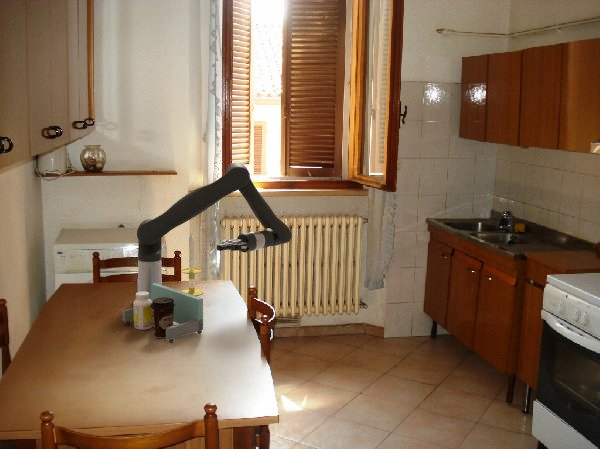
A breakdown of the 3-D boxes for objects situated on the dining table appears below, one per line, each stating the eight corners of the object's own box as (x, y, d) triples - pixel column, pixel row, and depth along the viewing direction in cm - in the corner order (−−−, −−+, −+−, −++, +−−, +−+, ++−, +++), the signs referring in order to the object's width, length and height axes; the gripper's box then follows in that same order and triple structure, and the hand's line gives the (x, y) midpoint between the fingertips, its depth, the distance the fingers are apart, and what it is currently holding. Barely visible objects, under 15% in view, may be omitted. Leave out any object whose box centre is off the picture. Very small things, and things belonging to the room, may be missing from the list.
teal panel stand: (122, 324, 250) (121, 290, 247) (156, 315, 261) (155, 282, 258) (168, 344, 231) (168, 307, 229) (203, 333, 242) (202, 298, 240)
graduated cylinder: (194, 288, 298) (194, 227, 293) (208, 293, 291) (208, 231, 286) (175, 292, 292) (174, 230, 287) (188, 297, 284) (187, 234, 279)
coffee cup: (180, 334, 242) (180, 298, 239) (166, 341, 234) (166, 304, 232) (160, 329, 245) (159, 295, 243) (146, 337, 238) (145, 301, 236)
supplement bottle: (155, 324, 251) (154, 291, 248) (149, 330, 244) (148, 296, 242) (137, 323, 251) (136, 290, 249) (131, 329, 245) (130, 295, 242)
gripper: (239, 229, 277) (206, 235, 264) (262, 234, 268) (229, 241, 255) (239, 248, 278) (206, 254, 266) (262, 253, 269) (229, 260, 257)
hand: (218, 248), depth 260 cm, fingers closed
